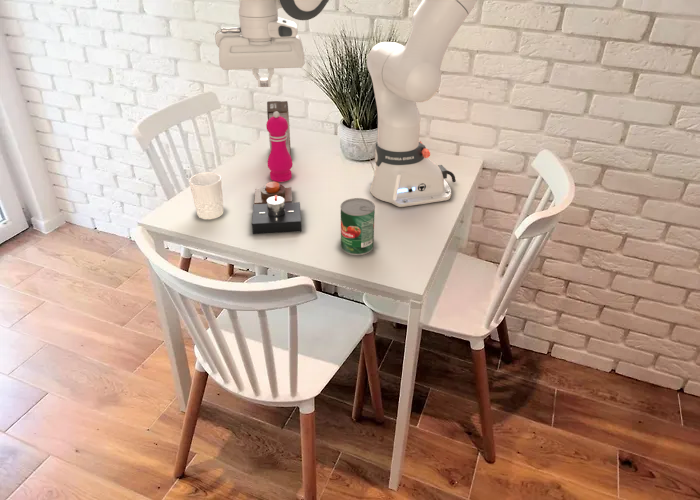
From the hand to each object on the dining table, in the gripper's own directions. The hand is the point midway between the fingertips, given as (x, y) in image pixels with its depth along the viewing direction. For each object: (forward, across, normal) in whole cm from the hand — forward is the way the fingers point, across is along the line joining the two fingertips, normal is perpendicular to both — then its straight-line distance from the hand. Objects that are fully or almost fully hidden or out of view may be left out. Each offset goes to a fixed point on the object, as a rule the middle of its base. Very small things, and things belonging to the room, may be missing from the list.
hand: (264, 86), depth 138 cm
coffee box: (+31, +2, +28) cm, 42 cm away
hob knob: (+28, +1, -14) cm, 31 cm away
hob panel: (+31, +1, -14) cm, 34 cm away
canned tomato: (+31, +20, -27) cm, 46 cm away
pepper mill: (+31, +2, +12) cm, 33 cm away
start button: (+28, 0, -2) cm, 28 cm away
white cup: (+31, -17, -8) cm, 36 cm away
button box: (+31, 0, -2) cm, 31 cm away
